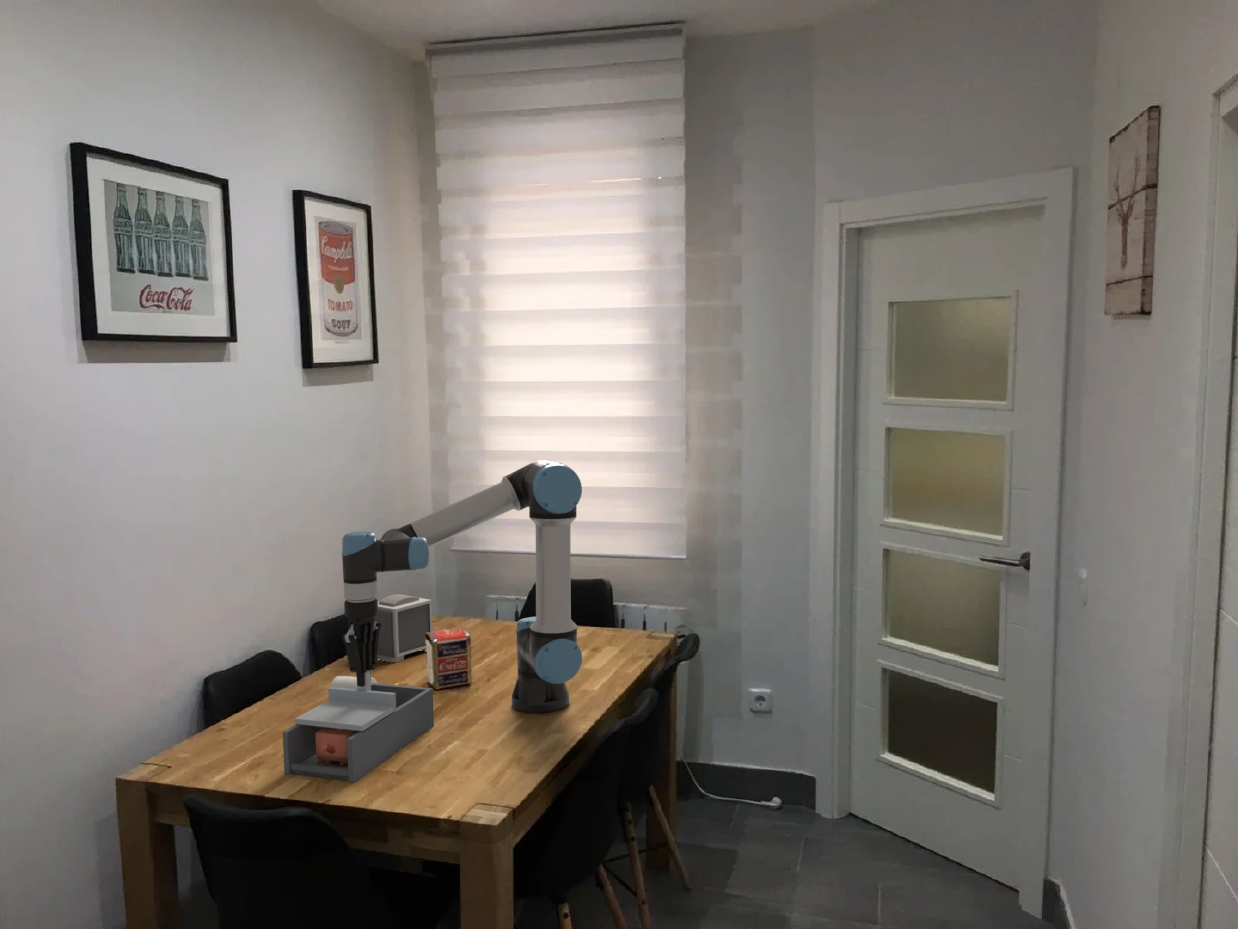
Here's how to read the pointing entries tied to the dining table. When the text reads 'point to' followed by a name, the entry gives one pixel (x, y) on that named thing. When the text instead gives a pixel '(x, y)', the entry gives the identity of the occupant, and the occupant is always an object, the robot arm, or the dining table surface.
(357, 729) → the lid
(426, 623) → the grey panelled box
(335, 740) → the pink cube teapot
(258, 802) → the dining table surface
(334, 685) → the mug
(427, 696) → the housing
